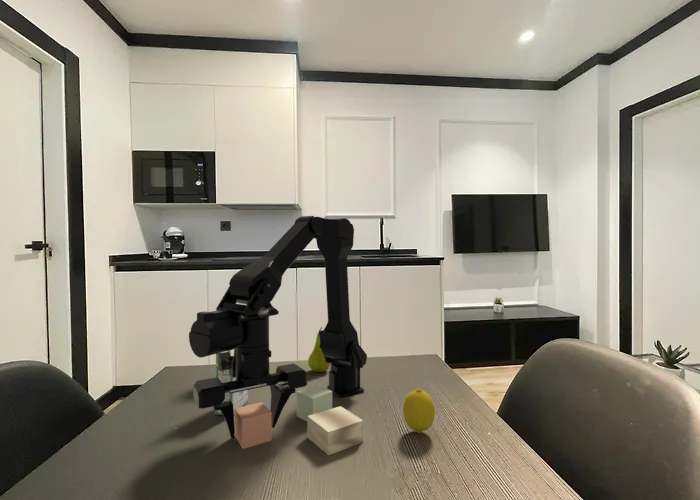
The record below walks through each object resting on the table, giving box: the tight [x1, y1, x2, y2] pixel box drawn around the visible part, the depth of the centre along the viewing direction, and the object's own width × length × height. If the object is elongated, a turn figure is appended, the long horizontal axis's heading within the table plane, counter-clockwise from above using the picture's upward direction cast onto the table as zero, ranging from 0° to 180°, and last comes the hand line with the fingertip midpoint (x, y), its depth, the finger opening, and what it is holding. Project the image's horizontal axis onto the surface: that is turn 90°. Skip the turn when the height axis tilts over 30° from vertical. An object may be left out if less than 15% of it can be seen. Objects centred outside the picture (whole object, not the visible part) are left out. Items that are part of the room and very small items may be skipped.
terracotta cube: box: [234, 401, 272, 450], centre depth 66 cm, size 5×5×5 cm
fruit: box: [307, 326, 331, 373], centre depth 101 cm, size 6×6×12 cm
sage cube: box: [296, 384, 333, 422], centre depth 74 cm, size 5×5×5 cm
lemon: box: [402, 388, 436, 434], centre depth 67 cm, size 6×6×8 cm
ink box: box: [214, 350, 249, 416], centre depth 78 cm, size 7×4×13 cm, turn 172°
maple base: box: [306, 405, 364, 456], centre depth 65 cm, size 7×7×4 cm
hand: (252, 432), depth 66 cm, fingers open, 7 cm apart
